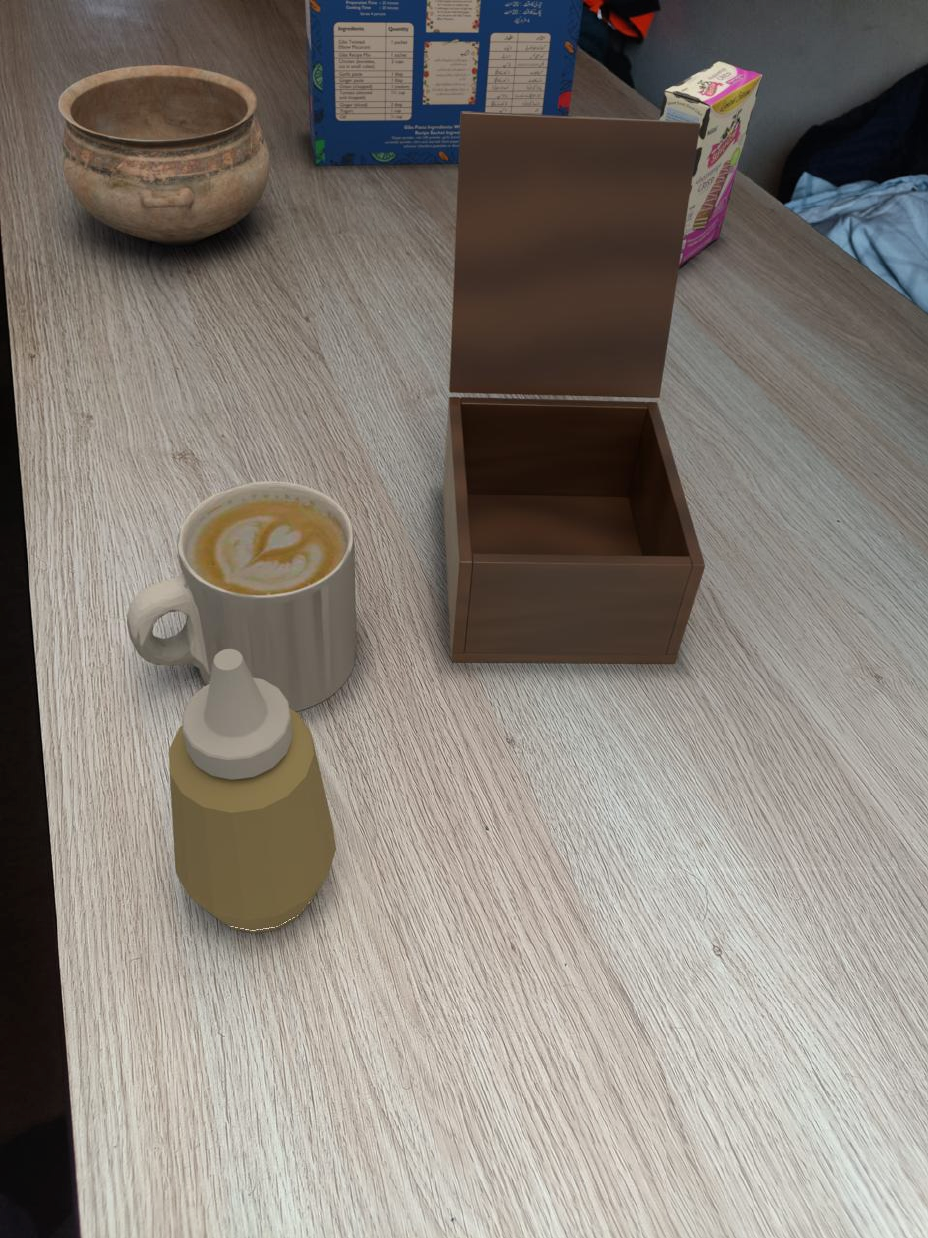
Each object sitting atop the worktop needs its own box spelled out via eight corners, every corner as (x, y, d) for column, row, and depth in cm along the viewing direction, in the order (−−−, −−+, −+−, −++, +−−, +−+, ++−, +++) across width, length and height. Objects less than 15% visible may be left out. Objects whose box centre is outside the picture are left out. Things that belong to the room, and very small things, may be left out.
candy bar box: (672, 278, 105) (711, 104, 93) (628, 261, 106) (661, 88, 95) (723, 238, 111) (765, 71, 99) (680, 222, 113) (717, 57, 101)
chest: (675, 663, 69) (705, 565, 63) (451, 662, 68) (459, 562, 62) (635, 498, 81) (657, 401, 74) (442, 495, 80) (448, 396, 73)
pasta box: (546, 132, 127) (579, -151, 107) (562, 161, 122) (600, -132, 102) (310, 135, 122) (298, -161, 102) (316, 165, 117) (304, -141, 97)
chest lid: (700, 123, 65) (683, 114, 69) (461, 112, 64) (457, 103, 67) (659, 398, 74) (646, 377, 78) (449, 392, 73) (446, 371, 76)
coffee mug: (340, 588, 72) (336, 471, 65) (370, 699, 66) (370, 583, 58) (136, 617, 69) (108, 498, 62) (147, 737, 63) (117, 620, 55)
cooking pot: (286, 289, 99) (277, 156, 90) (72, 299, 95) (41, 162, 86) (263, 171, 115) (254, 49, 106) (81, 176, 112) (56, 51, 103)
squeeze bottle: (167, 845, 58) (108, 616, 45) (311, 801, 60) (294, 571, 47) (204, 978, 53) (149, 763, 40) (358, 923, 55) (354, 704, 42)
